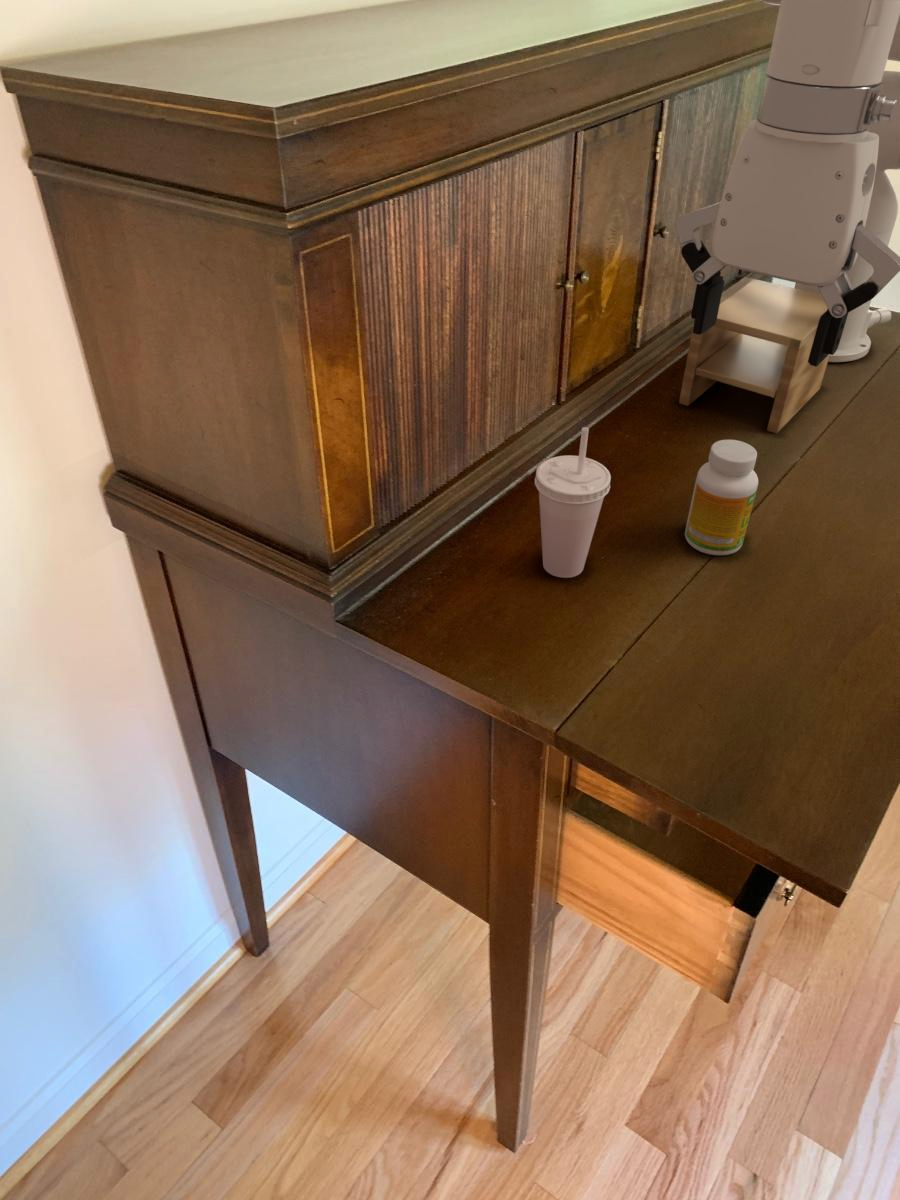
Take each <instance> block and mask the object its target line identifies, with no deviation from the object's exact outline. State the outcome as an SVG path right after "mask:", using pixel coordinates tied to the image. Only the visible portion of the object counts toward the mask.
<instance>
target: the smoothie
mask: <svg viewBox="0 0 900 1200" xmlns="http://www.w3.org/2000/svg"><path fill="white" fill-rule="evenodd" d="M589 431H590V428H589V427H587V426H583V427H581V434H580V442H579V450H578V451H579V452H578V455H570V454H569V455H559V456H554V457H550V458H548V459H546V460H543V462H541V463H540V464H539V465H538V467H537V468H536V470H535V477H534V486H535V487H536V489H537V491H538V500H539V501H538V502H539V514H540V515H539V519H540V534H541V535H540V536H541V537H540V539H541V553H542V554H541V555H542V567H543V569H544V570H545V571H546V572H547V573H548V574H549V575H551V576H552V577H553V576H554V577H558V578H562V579H563V578H564V579H568V578H569V579H571V578H574V577H577V576H579V575H581V574H582V572H583V571H584V569H585V564H586V562H587V557H588V555H589V552H590V551H589V550H590V548H591V543H592V540H593V537H594V534H595V530H596V527H597V523H598V520H599V516H600V512H601V509H602V507H603V506H602V505H603V501H604V499H605V496H607V495H608V494H609V492H610V489H611V479H612V476H611V473H610V471H609V469H607V467H606V466H605V465H604V464H602V463H600V462H599V461H597V460H594V459H592V458H589V457H587V447H588V440H589V439H588V438H589Z"/></svg>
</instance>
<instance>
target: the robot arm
mask: <svg viewBox="0 0 900 1200" xmlns="http://www.w3.org/2000/svg"><path fill="white" fill-rule="evenodd" d="M758 1H760V2H761V3H764V4H767V5H773V6H779V8H778V13H777V19H776V23H775V28H774V33H773V38H772V43H771V48H770V53H769V58H768V62H767V68H766V73H765V77H764V82H763V87H762V91H761V96H760V101H759V106H758V111H757V115H756V118H755V119H753V120H751V121H749V122H748V123H747V124H746V127H745V129H744V131H743V133H742V135H741V139H740V141H739V144H738V146H737V148H736V152H735V155H734V158H733V161H732V163H731V166H730V169H729V172H728V175H727V179H726V181H725V185H724V189H723V191H722V196H721V199H720V201H719V202H715V203H713V204H710V205H708V206H704V207H701V208H699V209H696V210H693V211H690V212H687V213H685V214H683V215H680V216H679V217H677V218H676V220H675V222H674V226H675V231H676V233H677V238H678V242H679V244H680V245H681V249H680V250H681V251H680V253H681V257H682V258H683V260H684V262H685V263H686V265H687V267H688V268H689V269H690V271H691V273H692V274H691V278H692V281H693V282H694V284H696V286H695V292H694V298H693V303H692V308H691V312H690V313H691V314H690V317H691V319H693V320H694V319H695V322H694V321H693V324H694V327H693V326H692V330H693V333H694V334H698V335H700V334H703V333H704V332H705V331H707V330H708V329H710V328H711V327H712V326H714V325H715V323H716V320H717V316H718V311H719V306H720V301H721V296H722V294H723V292H724V285H725V279H724V276H721V274H722V271H723V270H724V269H725V268H728V267H729V268H732V269H736V270H739V271H740V270H741V271H744V272H747V273H748V272H749V273H752V274H757V275H761V276H764V277H765V276H766V277H769V278H773V279H774V278H775V279H778V280H783V281H788V282H792V283H794V287H793V288H795V289H799V290H803V291H807V292H812V293H816V294H820V295H822V297H823V299H824V301H825V303H826V305H827V307H828V309H827V311H826V312H825V313H824V314H823V315H821V317H820V319H819V323H818V326H817V330H816V334H815V337H814V341H813V344H812V348H811V352H810V355H809V359H808V363H810V365H812V366H816V367H817V366H818V365H819V364H820V363H821V362H822V361H823V360H824V359H825V358H826V357H827V356H828V355H829V354H830V356H829V359H828V362H827V363H846V362H852V361H853V362H854V361H856V360H859V359H861V358H864V357H865V356H866V355H868V353H869V351H870V348H871V345H872V341H871V338H870V336H869V335H868V334H867V332H868V329H871V328H872V327H873V326H877V325H882V324H886V323H889V322H890V321H891V319H892V312H891V310H890V309H889V308H887V307H883V308H880V309H879V308H878V309H874V310H870V305H871V302H872V300H873V299H874V298H875V297H876V296H877V295H878V294H879V293H880V292H881V291H882V290H883V289H884V288H886V286H887V285H888V284H889V283H890V282H891V281H892V280H893V279H894V278H895V277H896V276H897V275H898V273H899V272H900V256H899V254H897V253H896V252H895V251H893V250H892V248H891V247H889V245H890V240H891V237H892V234H893V230H894V228H895V224H896V221H897V218H898V214H899V199H898V194H897V192H896V189H895V187H894V184H893V182H892V180H891V178H890V175H889V174H888V170H896V171H898V170H900V71H896V70H885V69H886V66H887V62H888V61H891V62H892V61H893V62H898V63H899V62H900V0H758ZM714 223H715V224H714ZM711 224H714V228H713V233H712V238H711V253H710V252H709V250H708V248H707V247H706V245H705V244H704V242H703V241H702V240H701V233H700V230H701V227H705V226H708V225H711ZM711 254H712V255H711Z"/></svg>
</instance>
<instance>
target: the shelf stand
mask: <svg viewBox="0 0 900 1200" xmlns="http://www.w3.org/2000/svg"><path fill="white" fill-rule="evenodd" d="M827 309H828V307H827V305H826V303H825V301H824V299H823V297H822V295H820V294H816V293H812V292H807V291H803V290H799V289H795V288H794V287H791V286H786V285H782V284H778V283H773V282H769V281H766V280H765V281H764V280H761V279H756V278H752V277H747V276H745V277H744V278H742V279H741V280H740V281H738V282H737V283H734V285H732V286H730V288H728V289H726V290H725V291H723V292H722V296H721V301H720V306H719V311H718V316H717V320H716V323H715V325H714V326H712V327H711V328H710V329H708V330H707V331H705V332H704V333H703V334H700V335H698V334H694V333H693V329H692V330H691V335H690V342H689V346H688V352H687V356H686V362H685V368H684V374H683V378H682V385H681V390H680V395H679V400H678V404H681V405H683V406H687V407H689V406H690V405H691V404H692V403H693V402H695V401H696V400H697V399H698V398H700V396H701V395H703V394H705V392H706V391H708V389H710V388H711V387H712V386H713V385H714V384H716V383H717V382H719V383H723V384H726V385H730V386H732V387H736V388H740V389H743V390H746V391H749V392H752V393H753V392H754V393H757V394H759V395H763V396H767V397H769V398H773V399H774V401H773V405H772V409H771V412H770V416H769V420H768V424H767V428H766V431H767V432H770V433H773V434H779V432H781V430H782V429H783V428H784V427H785V426H786V425H787V424H788V423H789V422H790V420H791V419H792V418H794V416H796V414H797V413H798V412H799V411H800V410H801V409H802V408H803V407H804V406H805V405H806V404H807V403H808V402H809V401H810V400H811V398H813V397H814V396H815V395H816V393H818V392H819V391H820V390H821V387H822V383H823V379H824V376H825V373H826V370H827V366H828V363H829V362H828V359H829V356H830V354H829V355H828V356H827V357H826V358H825V359H824V360H823V361H822V362H821V363H820V364H819V365H818V366H817V367H816V366H812V365H810V363H808V359H809V355H810V352H811V348H812V344H813V341H814V337H815V334H816V330H817V326H818V323H819V319H820V317H821V315H823V314H824V313H825V312H826V311H827ZM694 322H695V319H693V325H692V328H693V327H694Z"/></svg>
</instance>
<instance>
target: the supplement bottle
mask: <svg viewBox="0 0 900 1200" xmlns="http://www.w3.org/2000/svg"><path fill="white" fill-rule="evenodd" d="M709 450H710V451H709V453H708V462H706V463H704V464H703V465H701V466H700V468H699V469H698V472H697V474H696V477H695V482H694V487H693V491H692V496H691V500H690V506H689V511H688V515H687V519H686V524H685V529H684V530H685V531H684V536H685V540H686V542H687V543H688V544H689V545H690V546H691V547H692V548H693V549H695V550H696V551H698V552H701V553H703V554H706V555H710V556H729V555H732V554H735V553H737V552H738V551H739V550H740V549H741V548H742V546H743V543H744V540H745V537H746V533H747V528H748V525H749V521H750V517H751V513H752V509H753V507H754V502H755V499H756V495H757V491H758V487H759V478H758V475H757V473H756V472H755V470H754V469H755V466H756V462H757V458H758V452H757V450H756V449H755V447H754V446H753V445H751V444H749V443H746V442H744V441H742V440H736V439H721V440H717V441H715V442H714V443H713V444H711V446H710V449H709Z"/></svg>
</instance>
